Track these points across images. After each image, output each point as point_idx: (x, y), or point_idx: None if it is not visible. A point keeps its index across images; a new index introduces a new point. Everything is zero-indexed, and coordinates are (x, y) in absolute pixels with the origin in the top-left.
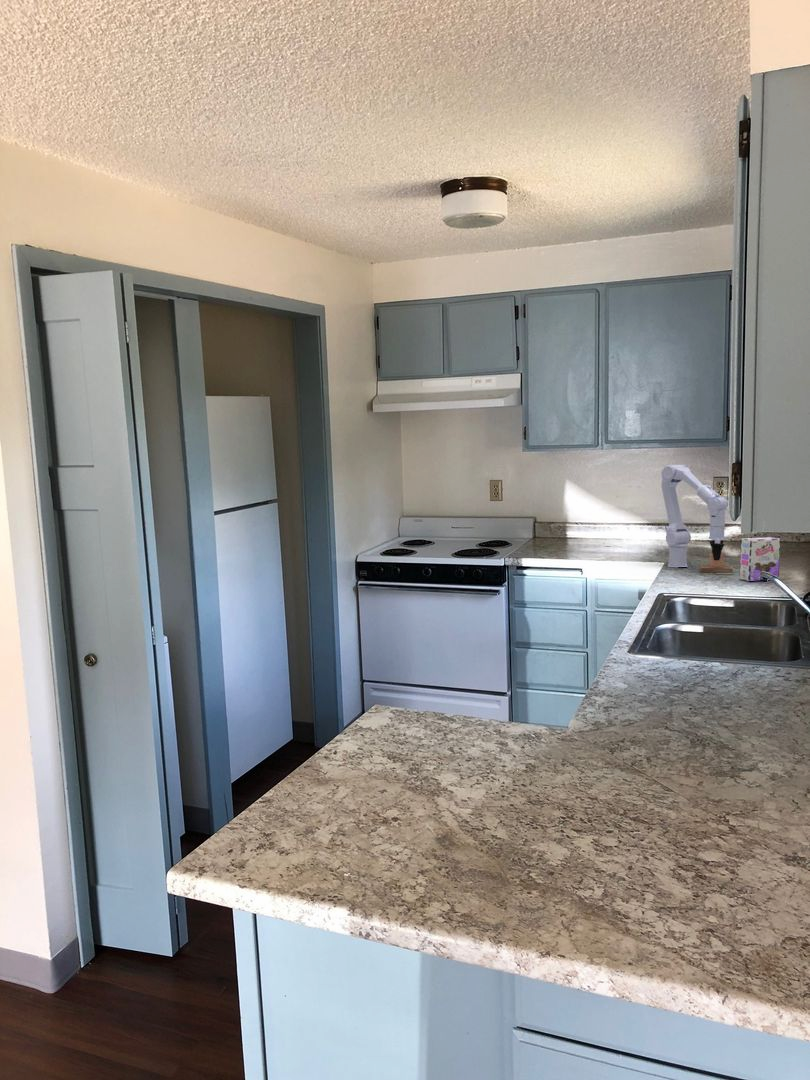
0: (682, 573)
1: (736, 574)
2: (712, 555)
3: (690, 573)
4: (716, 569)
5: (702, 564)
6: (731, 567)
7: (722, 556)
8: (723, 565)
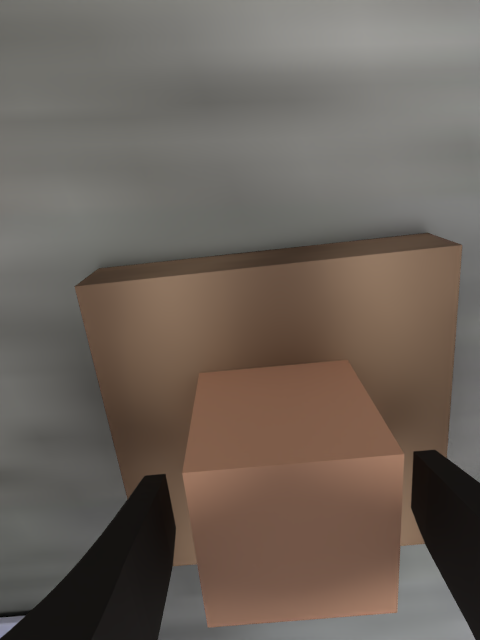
0: (431, 607)
1: (398, 188)
2: (392, 577)
3: (419, 563)
4: (442, 408)
5: (193, 547)
6: (349, 262)
7: (393, 448)
8: (196, 360)
